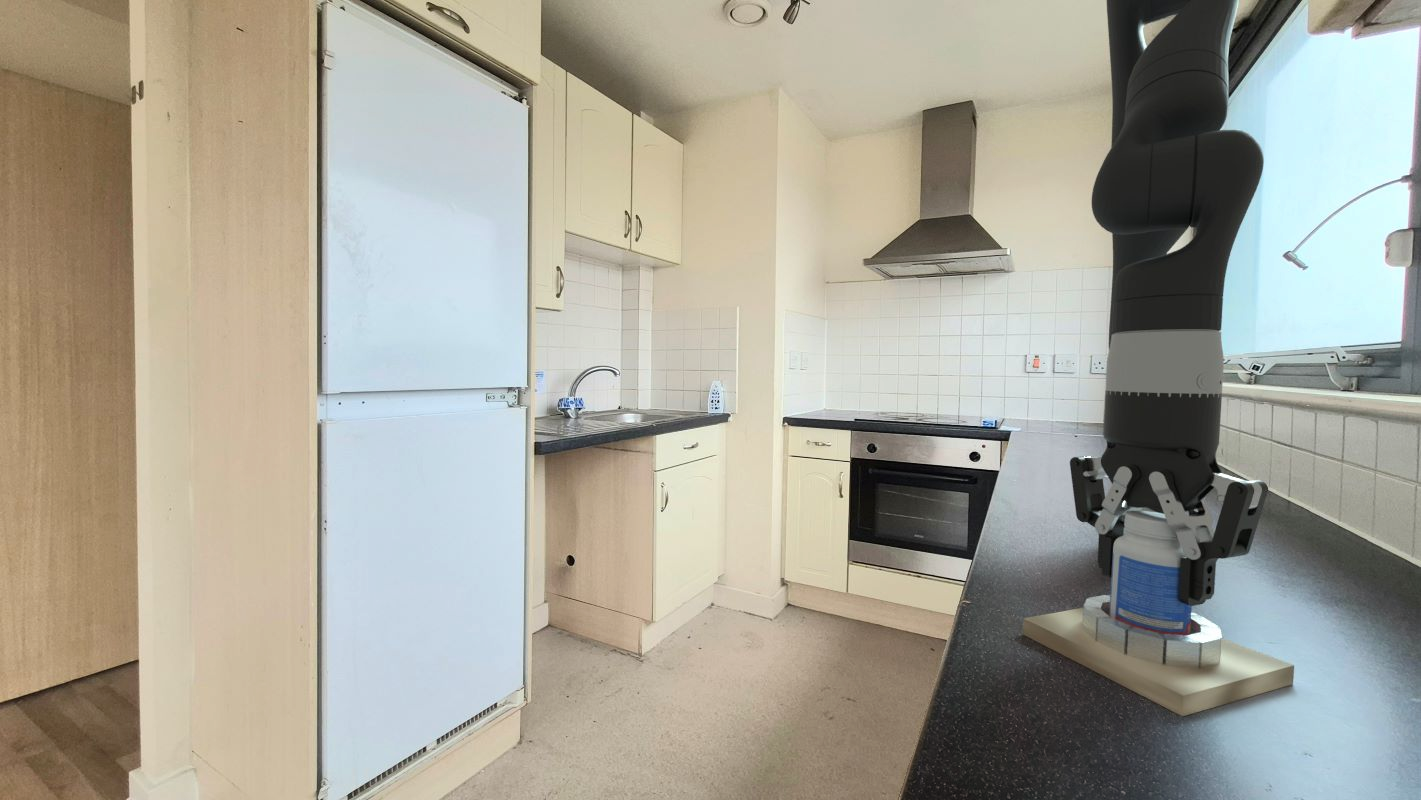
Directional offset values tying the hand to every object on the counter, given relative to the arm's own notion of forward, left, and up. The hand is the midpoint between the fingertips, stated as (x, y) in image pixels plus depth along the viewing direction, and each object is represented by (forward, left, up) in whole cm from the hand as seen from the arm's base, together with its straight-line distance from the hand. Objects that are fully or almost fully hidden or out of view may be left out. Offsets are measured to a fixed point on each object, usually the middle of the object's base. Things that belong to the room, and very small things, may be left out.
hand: (1150, 588), depth 48 cm
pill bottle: (0, 0, -4) cm, 4 cm away
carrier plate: (0, 0, -6) cm, 6 cm away
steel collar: (0, 0, -4) cm, 4 cm away
